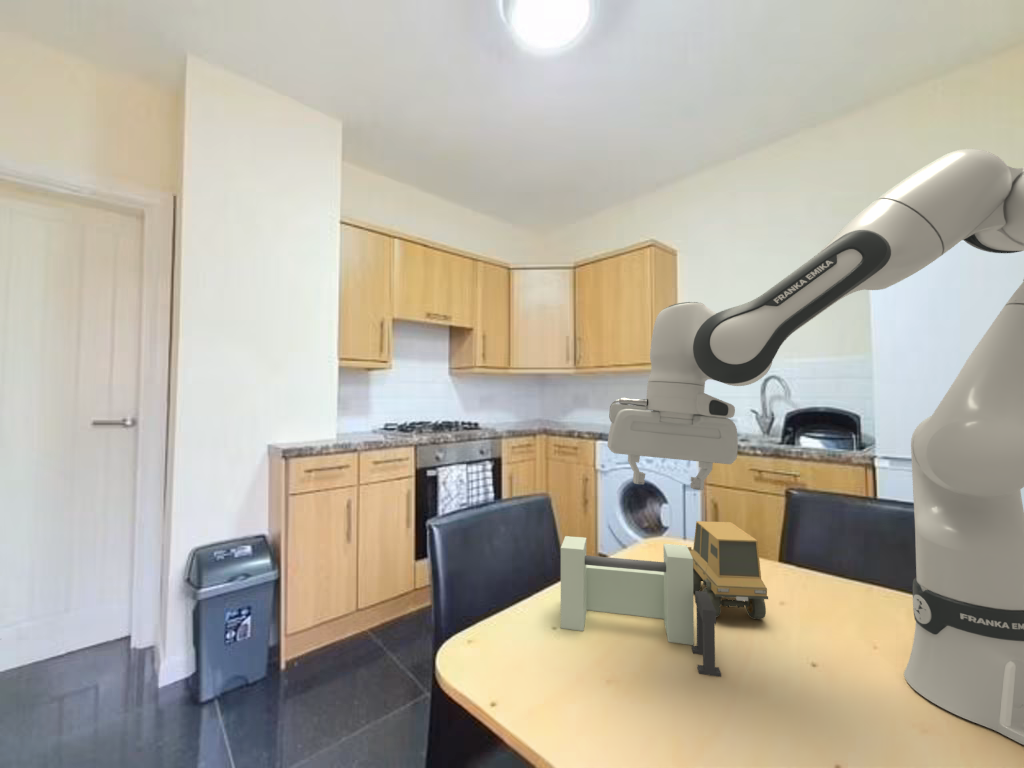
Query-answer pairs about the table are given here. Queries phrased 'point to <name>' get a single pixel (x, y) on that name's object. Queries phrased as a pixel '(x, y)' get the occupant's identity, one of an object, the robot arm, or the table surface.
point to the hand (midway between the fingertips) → (667, 486)
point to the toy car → (728, 567)
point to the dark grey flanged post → (706, 634)
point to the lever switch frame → (628, 588)
